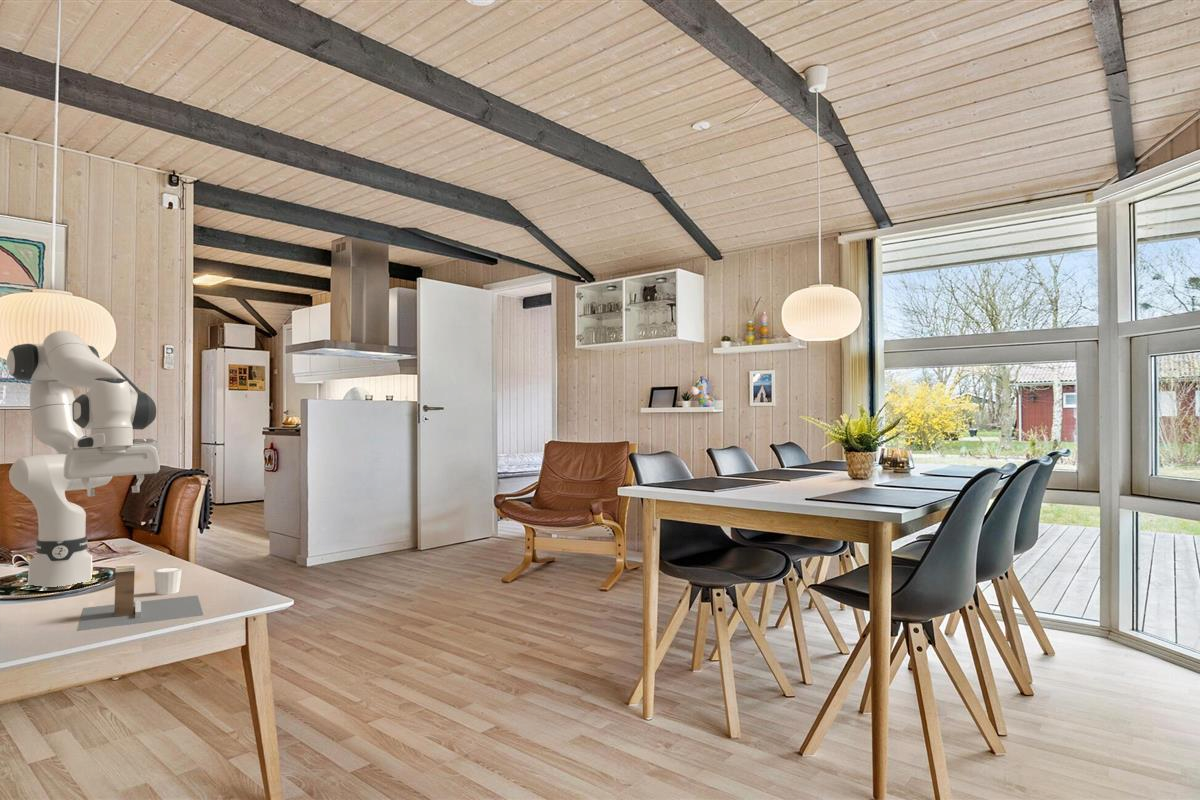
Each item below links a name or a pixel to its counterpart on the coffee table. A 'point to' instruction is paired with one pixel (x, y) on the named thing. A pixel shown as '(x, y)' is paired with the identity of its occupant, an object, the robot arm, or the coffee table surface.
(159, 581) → the white cup
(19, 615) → the coffee table surface
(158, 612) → the slate mat
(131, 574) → the walnut block
